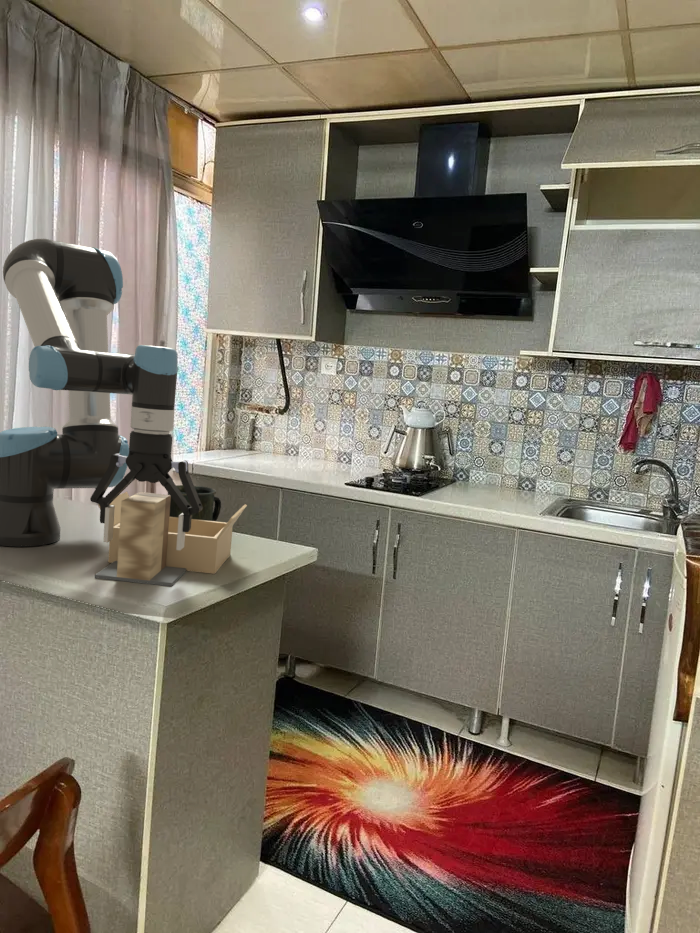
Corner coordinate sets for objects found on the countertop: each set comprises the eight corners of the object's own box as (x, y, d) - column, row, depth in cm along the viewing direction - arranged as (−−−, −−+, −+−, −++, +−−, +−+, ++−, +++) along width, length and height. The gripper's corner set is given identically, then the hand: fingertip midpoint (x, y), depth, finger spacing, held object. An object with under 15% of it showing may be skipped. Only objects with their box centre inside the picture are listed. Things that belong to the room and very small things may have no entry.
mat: (94, 577, 128) (95, 574, 128) (114, 563, 138) (115, 560, 138) (171, 586, 128) (171, 582, 128) (186, 571, 138) (186, 568, 138)
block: (116, 576, 128) (121, 500, 126) (135, 562, 138) (139, 491, 136) (149, 580, 128) (154, 504, 126) (165, 566, 138) (170, 495, 136)
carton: (94, 560, 139) (97, 503, 137) (121, 543, 153) (124, 491, 152) (228, 575, 138) (233, 517, 137) (242, 556, 153) (247, 504, 151)
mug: (152, 539, 160) (155, 486, 158) (200, 531, 172) (204, 482, 170) (184, 549, 154) (188, 495, 152) (232, 541, 165) (237, 490, 164)
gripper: (75, 425, 126) (69, 542, 129) (214, 440, 126) (205, 556, 128) (92, 423, 134) (86, 533, 136) (223, 436, 133) (214, 547, 136)
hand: (144, 544), depth 132 cm, fingers open, 13 cm apart
